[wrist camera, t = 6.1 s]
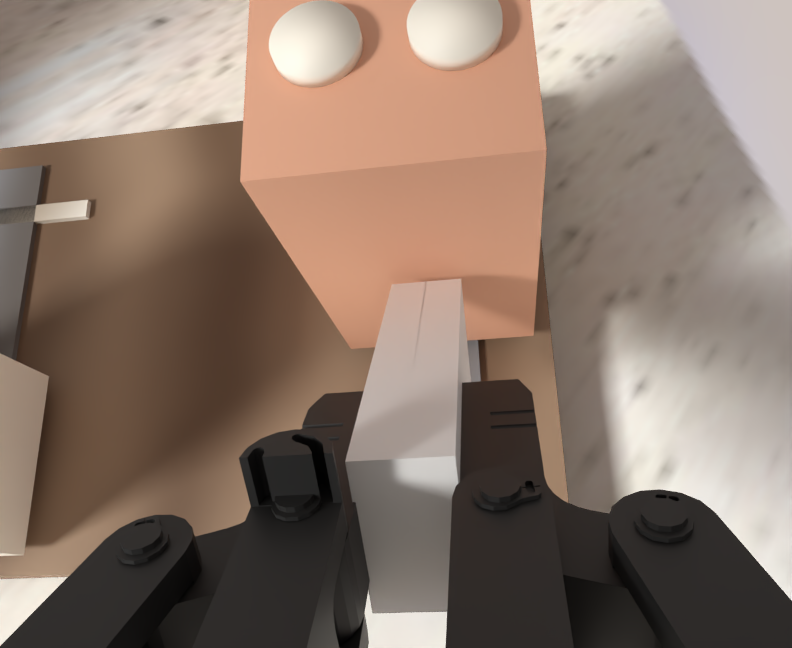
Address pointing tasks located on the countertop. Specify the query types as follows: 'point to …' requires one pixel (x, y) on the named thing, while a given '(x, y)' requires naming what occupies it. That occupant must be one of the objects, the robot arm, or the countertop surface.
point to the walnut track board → (175, 336)
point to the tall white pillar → (18, 448)
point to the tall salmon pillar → (399, 152)
